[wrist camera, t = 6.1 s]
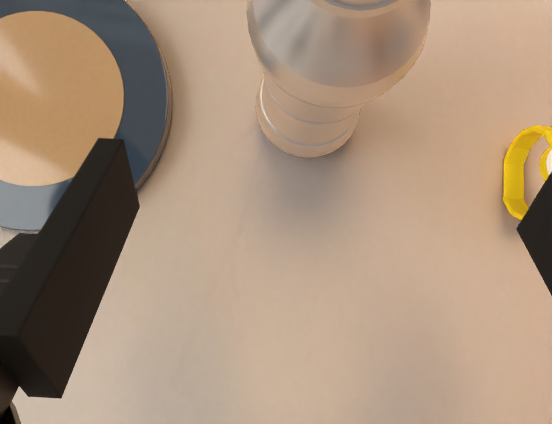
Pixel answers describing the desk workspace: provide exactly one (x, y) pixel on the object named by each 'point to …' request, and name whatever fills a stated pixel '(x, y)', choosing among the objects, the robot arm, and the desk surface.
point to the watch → (515, 167)
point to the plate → (74, 98)
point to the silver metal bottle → (329, 64)
